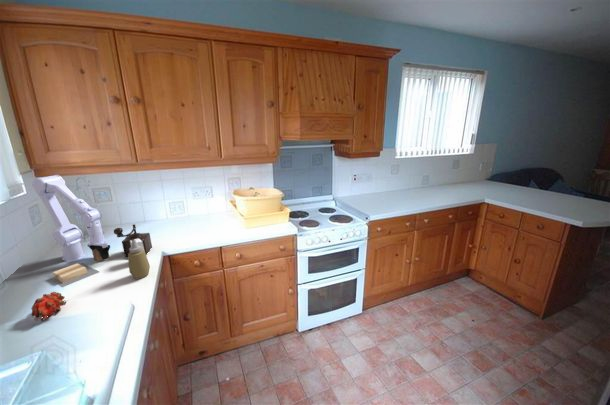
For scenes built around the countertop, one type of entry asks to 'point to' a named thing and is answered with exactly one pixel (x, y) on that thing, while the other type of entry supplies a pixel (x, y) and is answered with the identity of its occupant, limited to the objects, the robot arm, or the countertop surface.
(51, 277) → the slate mat
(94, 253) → the walnut block
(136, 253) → the squeeze bottle
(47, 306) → the dragon fruit
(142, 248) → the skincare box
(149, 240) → the coffee grinder
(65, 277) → the oak base
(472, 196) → the countertop surface
